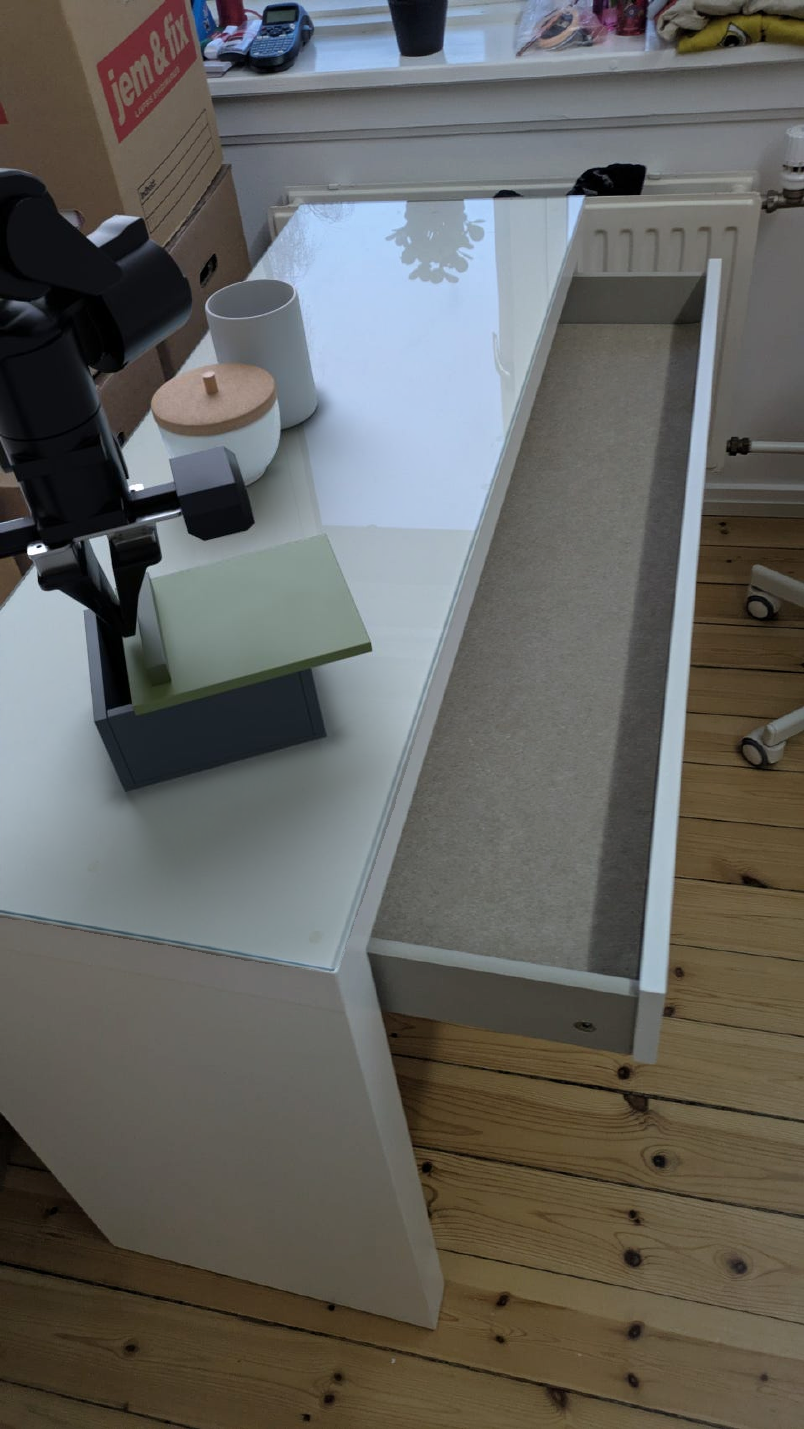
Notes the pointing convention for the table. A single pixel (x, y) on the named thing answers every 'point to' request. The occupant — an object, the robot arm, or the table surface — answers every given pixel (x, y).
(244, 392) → the trinket box
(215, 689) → the bin lid
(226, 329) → the mug
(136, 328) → the robot arm
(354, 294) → the table surface
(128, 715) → the bin
